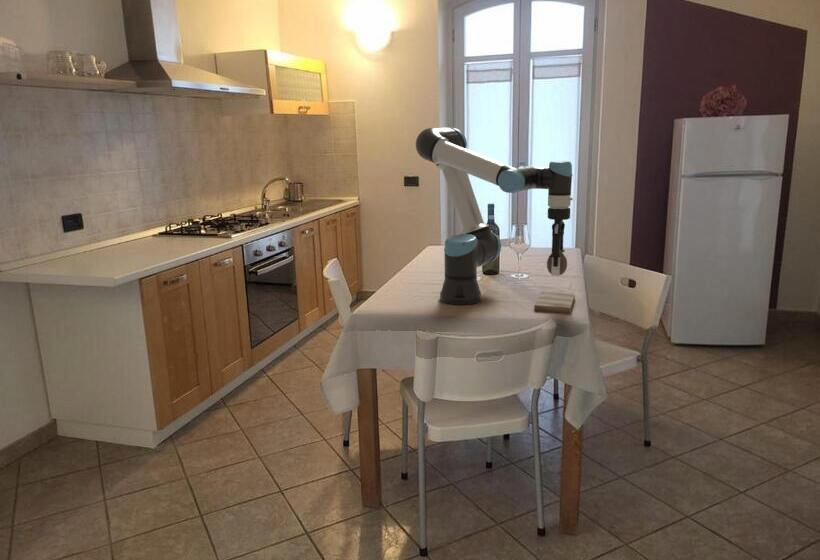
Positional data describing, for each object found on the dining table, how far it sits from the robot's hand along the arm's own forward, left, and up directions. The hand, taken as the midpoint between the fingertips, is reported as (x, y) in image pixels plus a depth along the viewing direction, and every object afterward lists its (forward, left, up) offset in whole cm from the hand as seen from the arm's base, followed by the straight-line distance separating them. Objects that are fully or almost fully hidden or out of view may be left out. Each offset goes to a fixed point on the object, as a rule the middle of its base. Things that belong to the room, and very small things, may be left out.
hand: (556, 272), depth 215 cm
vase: (0, 0, -1) cm, 1 cm away
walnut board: (0, 0, -12) cm, 12 cm away
